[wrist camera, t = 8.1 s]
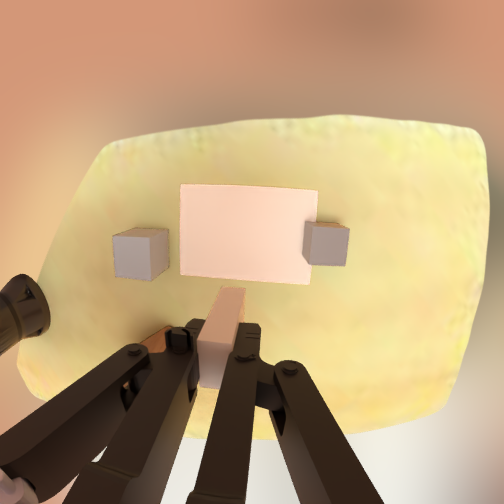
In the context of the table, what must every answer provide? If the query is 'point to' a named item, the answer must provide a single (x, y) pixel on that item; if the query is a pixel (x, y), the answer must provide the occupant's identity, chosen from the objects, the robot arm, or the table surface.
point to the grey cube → (325, 243)
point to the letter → (245, 232)
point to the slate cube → (141, 253)
